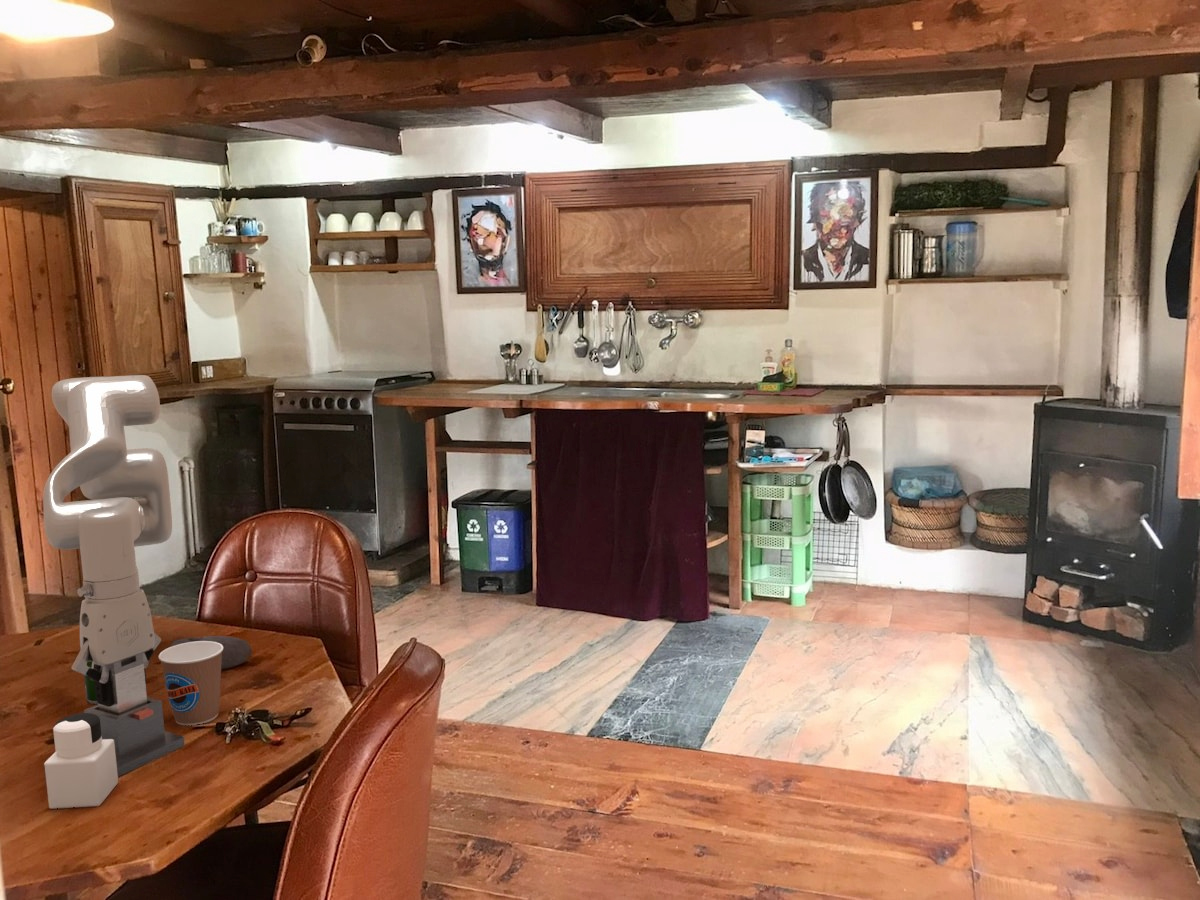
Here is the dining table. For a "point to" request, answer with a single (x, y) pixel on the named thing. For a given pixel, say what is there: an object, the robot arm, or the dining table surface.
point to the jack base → (137, 735)
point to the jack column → (127, 685)
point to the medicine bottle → (80, 763)
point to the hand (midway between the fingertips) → (122, 696)
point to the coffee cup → (193, 680)
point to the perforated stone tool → (225, 649)
